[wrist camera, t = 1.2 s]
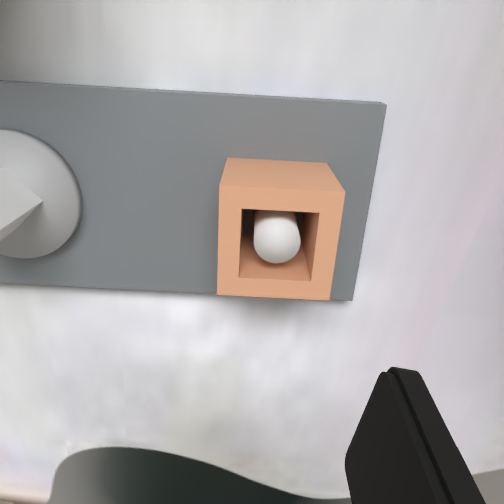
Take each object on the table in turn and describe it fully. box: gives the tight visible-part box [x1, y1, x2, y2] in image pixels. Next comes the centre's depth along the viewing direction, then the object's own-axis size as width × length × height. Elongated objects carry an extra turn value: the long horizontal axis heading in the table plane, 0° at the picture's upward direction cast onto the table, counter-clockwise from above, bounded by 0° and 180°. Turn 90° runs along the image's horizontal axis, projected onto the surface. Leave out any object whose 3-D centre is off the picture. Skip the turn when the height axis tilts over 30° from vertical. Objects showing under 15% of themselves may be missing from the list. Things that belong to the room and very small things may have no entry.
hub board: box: [0, 81, 387, 301], centre depth 25 cm, size 28×13×8 cm, turn 87°
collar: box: [217, 158, 345, 300], centre depth 24 cm, size 6×6×6 cm
